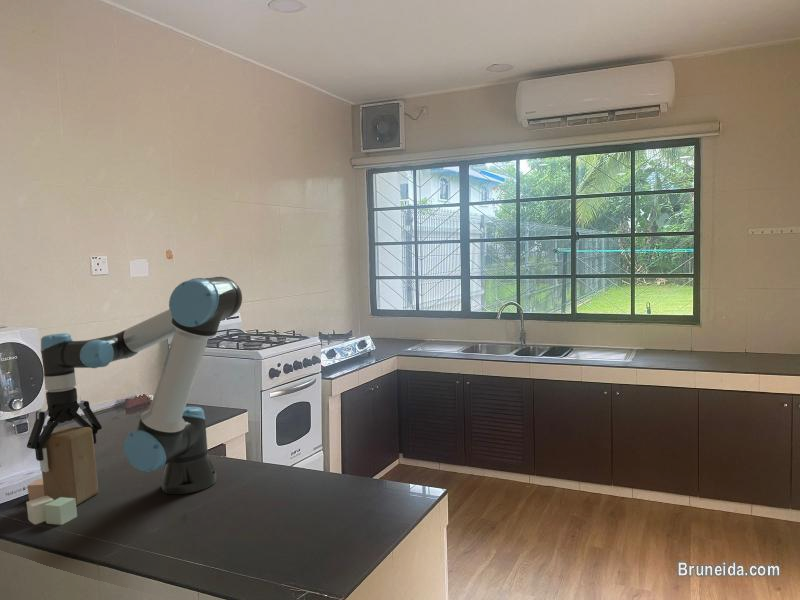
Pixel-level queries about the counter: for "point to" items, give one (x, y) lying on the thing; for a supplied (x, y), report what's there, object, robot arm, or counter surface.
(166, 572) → the counter surface
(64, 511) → the cube sage
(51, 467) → the wooden block
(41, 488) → the cube tan
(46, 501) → the cube cream
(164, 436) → the robot arm
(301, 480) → the counter surface
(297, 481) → the counter surface
